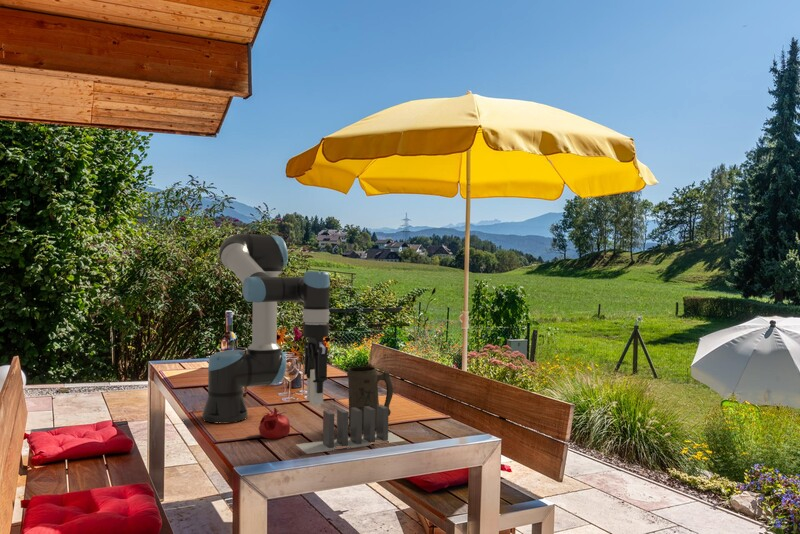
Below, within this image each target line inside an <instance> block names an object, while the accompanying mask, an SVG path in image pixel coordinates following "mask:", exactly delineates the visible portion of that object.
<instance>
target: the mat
mask: <svg viewBox="0 0 800 534" xmlns="http://www.w3.org/2000/svg"><path fill="white" fill-rule="evenodd" d="M375 440H381V439H379V438H378V437H376V433H375ZM382 441H383V440H382ZM386 441H389V443H388V444H391V443H397V442H405V441H406V440H405V439H403V438H401V437H399V436H397V434H393V433H392V432H388V440H386ZM369 443H370V442H368V441H367V440H365V439H364V438H363V435H362V444H355V443H354V442H352V441H351V440H350V437H348V446H349V448H348V449H353V448H361V447H369ZM295 445H296V446H297V447H298V448H299V449H301V451H303V452H304V453H305V454H307V455H308V454H309V455H310V454H316V453H323V452H324V453H325V452H332V450H333V451H335V450H334V449H335V448H337V447H336V446H342V445H340V444H339V443H338V442H337V438H336V439H335V438H334V447H335V448H334V447H333V448H328V447H327V446H325V445H324V444H323V440H322V441H312V442H303V443H296V444H295ZM342 447H343V446H342ZM346 447H347V446H346ZM350 447H351V448H350Z"/></svg>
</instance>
